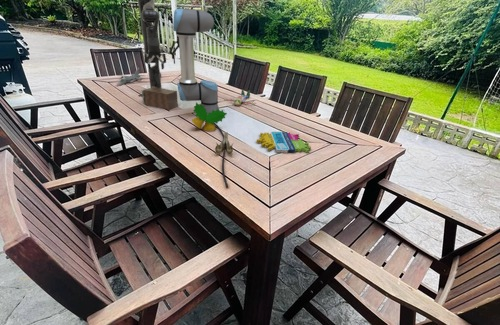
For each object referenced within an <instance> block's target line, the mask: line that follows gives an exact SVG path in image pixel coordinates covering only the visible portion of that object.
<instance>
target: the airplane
mask: <svg viewBox="0 0 500 325" xmlns="http://www.w3.org/2000/svg"><path fill="white" fill-rule="evenodd" d="M139 70H140V67H139V66H137V69H136V70H135V72H134V73H131V74H130V75H121V74H117V75H116V76H118V77H120V78H119V80H120V81H118V82H117V83H116V84H115V85H114V86H115V87H116V86H117V87H119V86H122V85H124V84H127V83H134V82H136V81H137V82H140V81H142V77H143V79H144V80H145V79H146V80H147V79H148V77H145V74H140V73H139V72H140V71H139Z"/></svg>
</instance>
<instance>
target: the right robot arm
mask: <svg viewBox="0 0 500 325" xmlns="http://www.w3.org/2000/svg"><path fill="white" fill-rule="evenodd" d="M172 20H173V22H172V30H173V32H175V35H176V40H172V44H171V47H170V49H169V51H168V53H169V54H170V55H171V59H172V60H173V64H174V65H176V56H175V53H176V52H177V50H178V49H179V63H180V79H178V82H177V83H176V86H177V92H178V94H179V99H180V101H182V102H197V101H198V102H199V101H200V104H201V106H204V109H206V112H208V113H211V112H212V110H214V111H216V110H217V109H219V111H221V110H220V108H219V102H218V99H219V98H218V97H219V88H218V84H217V83H216V82H215V81H213V80H207V79H206V80H205V79H202V80H200V81H199V82H198V80H197V79H196V77H195V76H196V75H195V55H196V51H195V48H194V46H195V45H194V39H195V37H196V36H197V33H206V32H208V31H210V30H212V29H213V28H214V25H215V20H214V17H213V15H212V14H210V13H209V12H207V11H205V10H201V9H188V8H176V9H174V10H173V19H172ZM176 44H177V45H176ZM175 45H176V46H175ZM174 47H175V48H174ZM208 113H207V115H208ZM213 124H214V126H215V127H216V128H217V129H218V130H219V131H220V133H221V135H222V138H223V140H224V133H223V130H222V129H221V128H220V127H219V126H218V124H217V123H213ZM222 152H223V154H222V160H221V169H222V170H221V171H222V178H223V180H224V183H225V186H226V188H229V184H228V182H227V179H226V174H225V157H226V156H225V155H226V149H225V148H224V149H223V151H222Z"/></svg>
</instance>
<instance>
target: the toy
mask: <svg viewBox="0 0 500 325" xmlns="http://www.w3.org/2000/svg"><path fill="white" fill-rule="evenodd" d="M240 92H241V93H240V95H238V96H237V97H235V99H233V98H230V99H228V98H227V97H226V96H225V97H224V98H223V101H224V102H233V103H232V104H233V105H235V106H242V103H243V104H247V105H252V106H255V105H256V104H257V103H256V102H254V101H253V100H252V101H251V102H250V101H248V100H246V99H248V98H250V97H251V90H250V89H249V90H248V91H247V92H246V93H245V91H244V89H242V90H241V91H240Z"/></svg>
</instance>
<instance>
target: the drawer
mask: <svg viewBox="0 0 500 325" xmlns="http://www.w3.org/2000/svg"><path fill="white" fill-rule="evenodd" d="M149 88H150V87H149ZM149 88H147V89H149ZM144 90H145V89H142V90H141V94H138V97H142V103H143V104H146V102H145V94H144Z"/></svg>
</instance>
